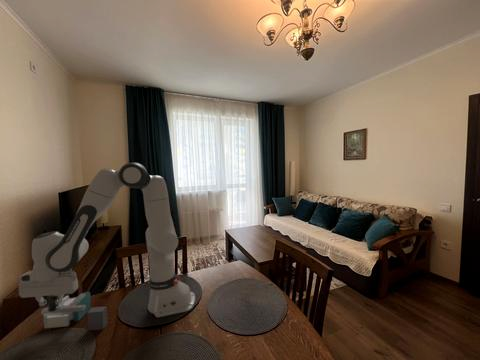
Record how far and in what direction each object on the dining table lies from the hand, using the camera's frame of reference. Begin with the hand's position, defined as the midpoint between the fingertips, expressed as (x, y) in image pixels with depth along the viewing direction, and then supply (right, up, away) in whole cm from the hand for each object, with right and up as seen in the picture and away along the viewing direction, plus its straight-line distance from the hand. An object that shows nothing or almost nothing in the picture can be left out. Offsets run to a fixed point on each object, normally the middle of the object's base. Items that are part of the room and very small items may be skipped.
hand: (51, 304), depth 87 cm
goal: (-1, -11, +10) cm, 15 cm away
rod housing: (+18, -11, +3) cm, 21 cm away
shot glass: (+1, -11, +9) cm, 15 cm away
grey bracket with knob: (+4, -11, +7) cm, 14 cm away
